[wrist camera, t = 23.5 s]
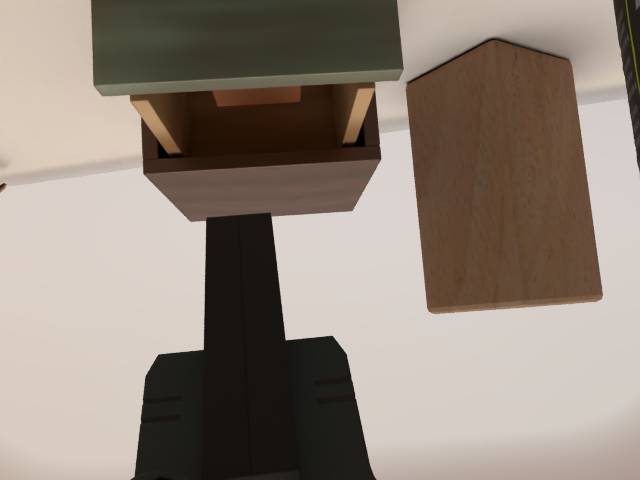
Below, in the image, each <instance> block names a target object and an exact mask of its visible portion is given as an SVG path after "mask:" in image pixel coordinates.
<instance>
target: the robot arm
mask: <svg viewBox="0 0 640 480" xmlns="http://www.w3.org/2000/svg"><path fill="white" fill-rule="evenodd" d="M131 480H376V478H375V477H374V475H373V472H372V470H371V467H370V463H369V459H368V454H367V449H366V444H365V440H364V435H363V430H362V425H361V420H360V416H359V411H358V406H357V401H356V399H355V392H354V387H353V382H352V379H351V373H350V368H349V364H348V359H347V354H346V353H345V352H344V350H343V349H342V348H341V346H340V345H339V344H338V342H337V341H336V340H335V338H334V337H333V336H326V337H315V338H306V339H296V340H286V339H285V331H284V322H283V313H282V304H281V296H280V288H279V278H278V270H277V261H276V252H275V244H274V235H273V226H272V218H271V212H270V213H257V214H244V215H232V216H219V217H206V265H205V318H204V350H199V351H189V352H180V353H169V354H159V355H158V356H157V358H156V360H155V361H154V363H153V365H152V366H151V368H150V370H149V371H148V373H147V375H146V378H145V387H144V395H143V405H142V414H141V425H140V433H139V442H138V450H137V460H136V469H135V477H134V478H132V479H131Z"/></svg>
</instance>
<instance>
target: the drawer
mask: <svg viewBox="0 0 640 480" xmlns="http://www.w3.org/2000/svg"><path fill="white" fill-rule="evenodd" d="M91 14H92V49H93V83H94V87H95V88H96V89H97V90H98V92H99V93H100V94H101V95H102V96H119V95H130V102H131V103H132V105H133V106H134V107H135V109H136V110H137V112H138V113H139V114H140V116H141V117H142V119H143V120H144V121H145V123H146V124H147V125H148V127H149V128H150V130H151V131H152V132H153V134H154V135H155V136H156V138H157V139H158V141H159V142H160V143H161V145H162V146H163V147H164V149H165V150H166V152H167V153H168V154H169V156H170V157H171V158H181V157H197V156H214V155H231V154H247V153H264V152H281V151H297V150H314V149H331V148H347V147H354V145H355V142H356V139H357V137H358V134H359V131H360V128H361V126H362V123H363V120H364V117H365V115H366V112H367V109H368V106H369V104H370V101H371V98H372V95H373V93H374V90H375V82H378V81H397V80H399V78H400V76H401V74H402V71H403V59H402V48H401V38H400V28H399V17H398V7H397V0H91ZM286 86H301V101H300V102H290V103H273V104H255V105H237V106H220V107H219V106H217V104H216V101H215V98H214V95H213V92H212V90H230V89H249V88H267V87H286Z"/></svg>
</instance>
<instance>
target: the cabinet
mask: <svg viewBox="0 0 640 480" xmlns="http://www.w3.org/2000/svg"><path fill="white" fill-rule="evenodd" d="M141 128H142V154H143V174H144V175H145V176H146V177H147V178H148V179H149V180H150V181H151V182H152V183H153V184H154V185H155V186H156V187H157V188H158V189H159V190H160V191H161V192H162V193H163V194H164V195H165V196H166V197H167V198H168V199H169V200H170V201H171V202H172V203H173V204H174V205H175V206H176V207H177V208H178V209H179V210H180V211H181V212H182V213H183V214H184V216H186V217H187V219H188V220H189V221H191V222H194V221H206V217H219V216H232V215H244V214H257V213H270V212H271V216H284V215H299V214H300V215H301V214H315V213H331V212H346V211H353V209H354V207H355V205H356V204H357V202H358V200H359V198H360V196H361V195H362V192H363V191H364V189H365V187H366V186H367V184H368V182H369V180H370V179H371V177H372V175H373V173H374V171H375V170H376V168H377V166H378V164H379V162H380V161H381V151H380V146H379V145H380V140H379V128H378V117H377V106H376V95H375V90H374V93H373V95H372V98H371V101H370V104H369V106H368V109H367V112H366V115H365V117H364V120H363V123H362V126H361V128H360V131H359V134H358V137H357V139H356V142H355V145H354V147H347V148H331V149H314V150H297V151H281V152H264V153H247V154H231V155H214V156H197V157H181V158H171V157H170V156H169V154H168V153H167V152H166V150H165V149H164V147H163V146H162V145H161V143H160V142H159V141H158V139H157V138H156V136H155V135H154V134H153V132H152V131H151V130H150V128H149V127H148V125H147V124H146V123H145V121H144V120H143V119H142V117H141Z"/></svg>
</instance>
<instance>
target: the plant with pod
mask: <svg viewBox="0 0 640 480" xmlns="http://www.w3.org/2000/svg"><path fill="white" fill-rule="evenodd" d="M5 188H6V184H5V183H3V184H2V185H0V193H1V192H2V191H3V190H4V189H5Z"/></svg>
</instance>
